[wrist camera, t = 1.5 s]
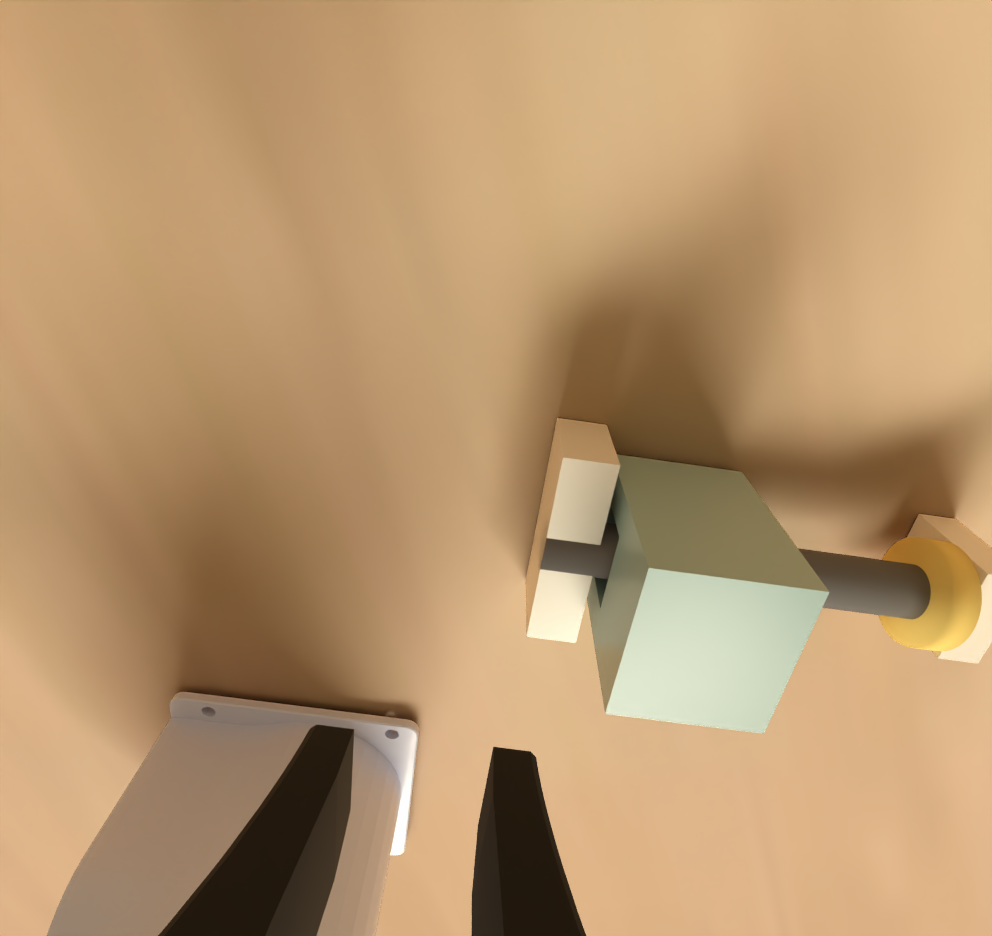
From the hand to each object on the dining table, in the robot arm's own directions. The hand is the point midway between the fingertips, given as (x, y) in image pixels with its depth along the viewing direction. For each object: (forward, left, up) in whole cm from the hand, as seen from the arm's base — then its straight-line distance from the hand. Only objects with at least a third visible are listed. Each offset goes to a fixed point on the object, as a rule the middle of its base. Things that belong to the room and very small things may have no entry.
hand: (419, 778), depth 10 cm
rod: (+9, 0, -10) cm, 14 cm away
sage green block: (+6, 0, -10) cm, 12 cm away
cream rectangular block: (+3, 0, -10) cm, 11 cm away
